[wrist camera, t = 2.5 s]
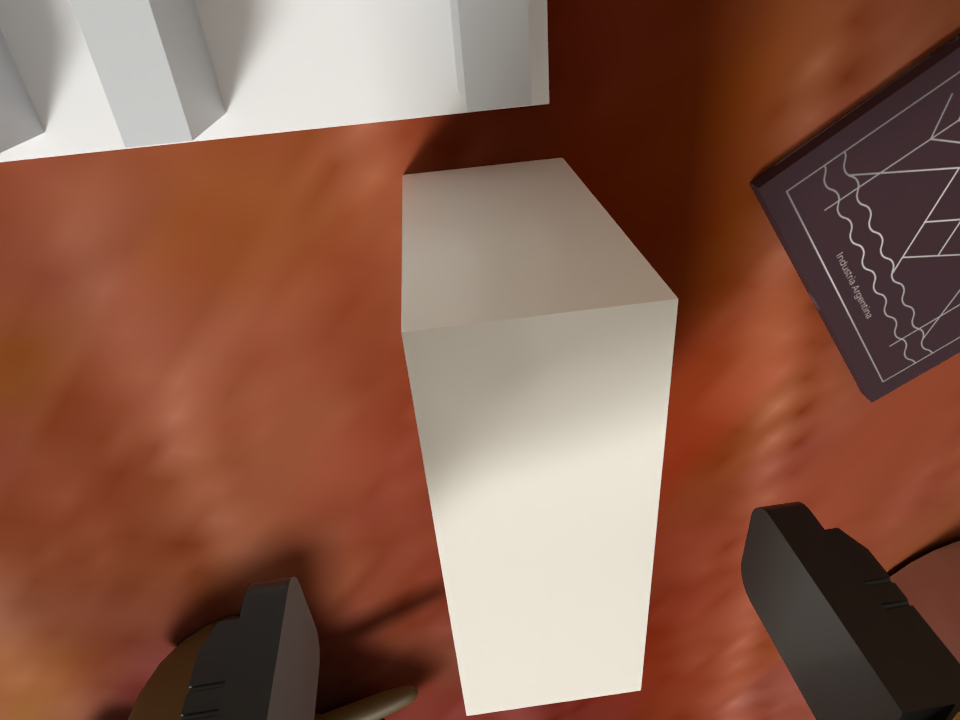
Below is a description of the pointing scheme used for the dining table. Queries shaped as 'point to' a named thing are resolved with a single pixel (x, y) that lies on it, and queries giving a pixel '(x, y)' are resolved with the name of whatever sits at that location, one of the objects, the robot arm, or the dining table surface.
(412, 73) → the dish rack
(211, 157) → the dining table surface
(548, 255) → the cream rectangular block
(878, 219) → the chocolate bar
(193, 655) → the kendama
